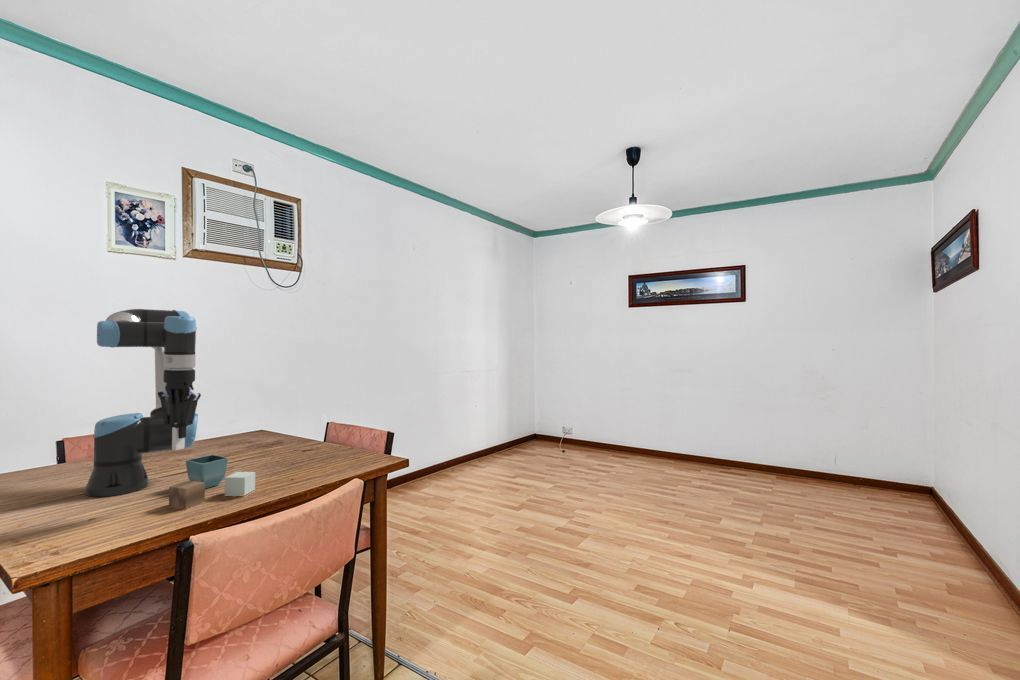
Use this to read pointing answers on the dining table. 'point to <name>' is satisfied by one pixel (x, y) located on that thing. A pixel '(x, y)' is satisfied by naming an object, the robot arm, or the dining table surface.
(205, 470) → the flower pot
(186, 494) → the walnut block
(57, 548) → the dining table surface
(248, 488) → the grey-green block
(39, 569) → the dining table surface
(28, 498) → the dining table surface
